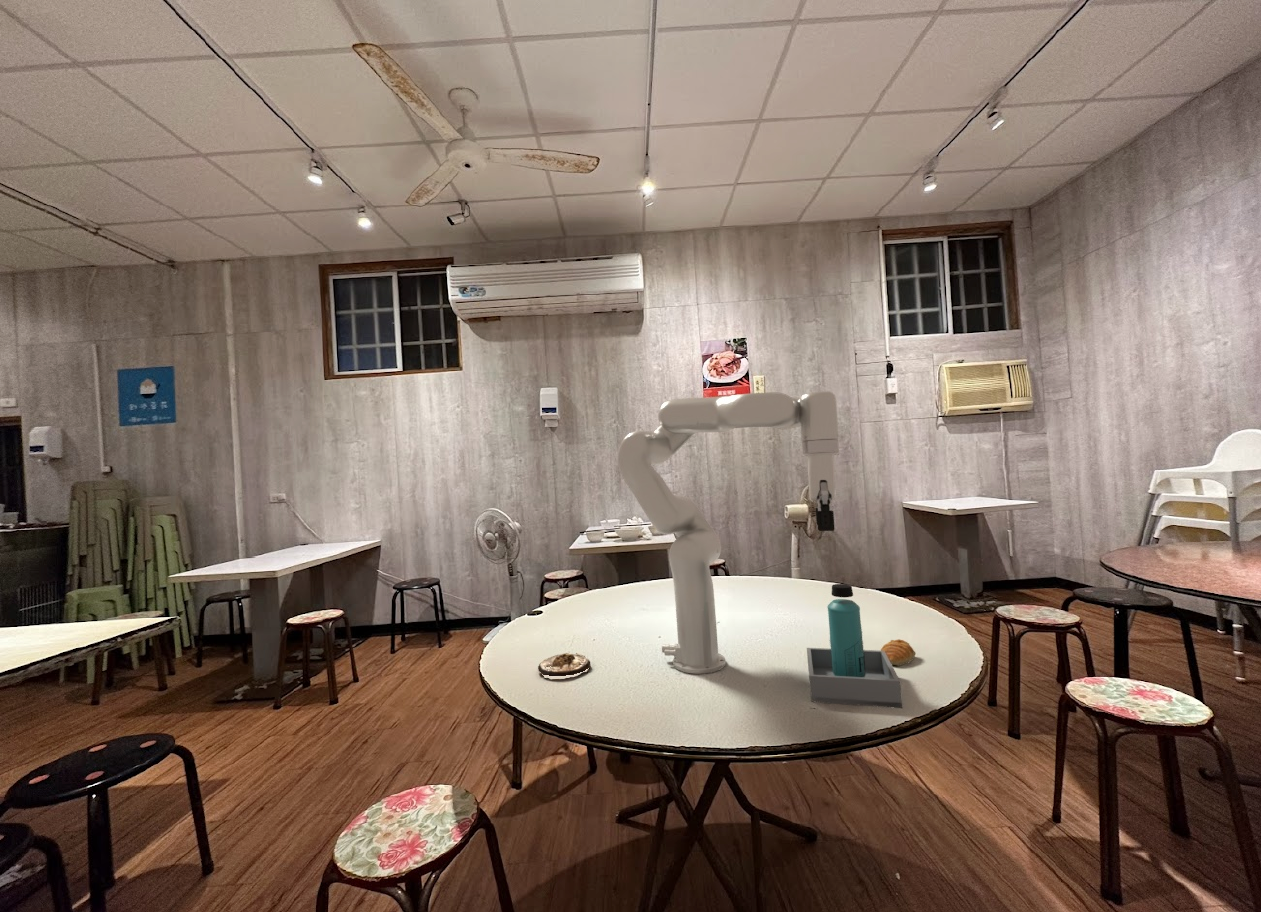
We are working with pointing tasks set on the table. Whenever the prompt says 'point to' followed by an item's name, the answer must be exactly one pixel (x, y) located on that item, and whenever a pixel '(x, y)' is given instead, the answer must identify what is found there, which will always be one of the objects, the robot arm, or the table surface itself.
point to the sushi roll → (564, 665)
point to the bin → (854, 681)
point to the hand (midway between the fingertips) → (825, 527)
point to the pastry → (898, 652)
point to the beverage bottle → (845, 634)
